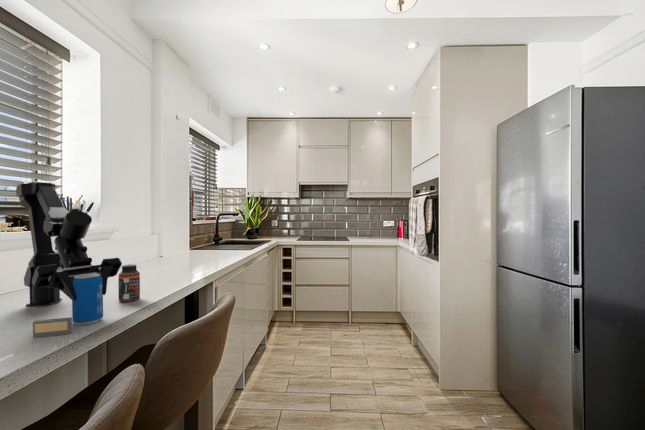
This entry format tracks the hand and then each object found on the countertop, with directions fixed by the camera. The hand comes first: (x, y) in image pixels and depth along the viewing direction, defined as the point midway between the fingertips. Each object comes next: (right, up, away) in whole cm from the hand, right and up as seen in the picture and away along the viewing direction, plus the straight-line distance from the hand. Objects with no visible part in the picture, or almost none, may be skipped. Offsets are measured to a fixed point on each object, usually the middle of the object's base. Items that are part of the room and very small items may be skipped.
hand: (90, 296), depth 84 cm
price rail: (-3, -7, -8) cm, 11 cm away
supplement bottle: (-3, -7, +21) cm, 23 cm away
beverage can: (-1, -7, +1) cm, 7 cm away
